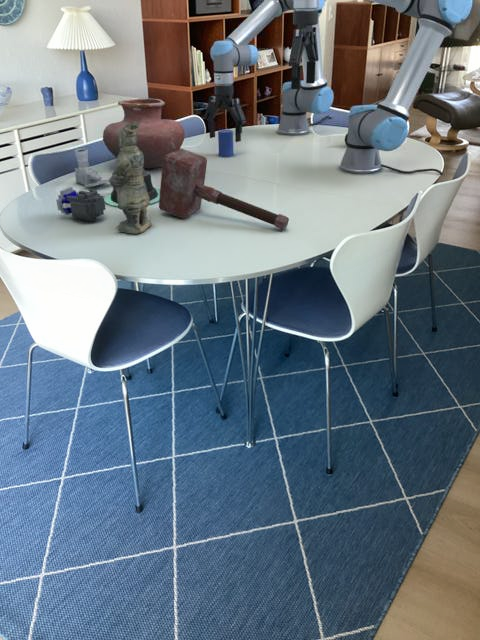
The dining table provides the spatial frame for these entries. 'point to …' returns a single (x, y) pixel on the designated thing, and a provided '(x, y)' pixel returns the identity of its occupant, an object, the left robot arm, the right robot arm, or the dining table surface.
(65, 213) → the toy
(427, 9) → the right robot arm
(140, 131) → the clay pot
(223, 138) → the canister
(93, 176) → the grey l-shaped piece
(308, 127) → the left robot arm
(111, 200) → the chocolate cake
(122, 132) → the statue
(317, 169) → the dining table surface
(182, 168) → the sledgehammer
